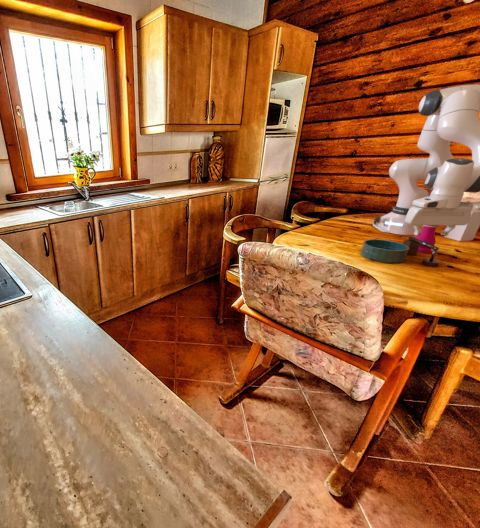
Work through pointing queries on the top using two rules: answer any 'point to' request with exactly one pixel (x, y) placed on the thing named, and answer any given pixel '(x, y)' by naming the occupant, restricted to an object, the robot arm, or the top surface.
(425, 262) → the dark grey angled piece
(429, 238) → the pepper mill
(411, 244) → the dark brown block
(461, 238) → the milk carton
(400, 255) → the bowl
